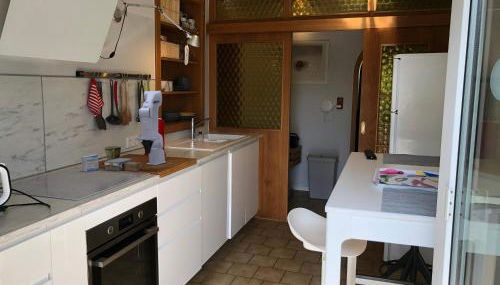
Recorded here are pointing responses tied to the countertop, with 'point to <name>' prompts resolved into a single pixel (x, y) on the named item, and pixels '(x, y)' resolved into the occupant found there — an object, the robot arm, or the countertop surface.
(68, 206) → the countertop surface
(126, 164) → the walnut block
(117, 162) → the gauge housing
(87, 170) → the medicine box
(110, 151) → the ceramic cup
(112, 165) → the gauge plunger
